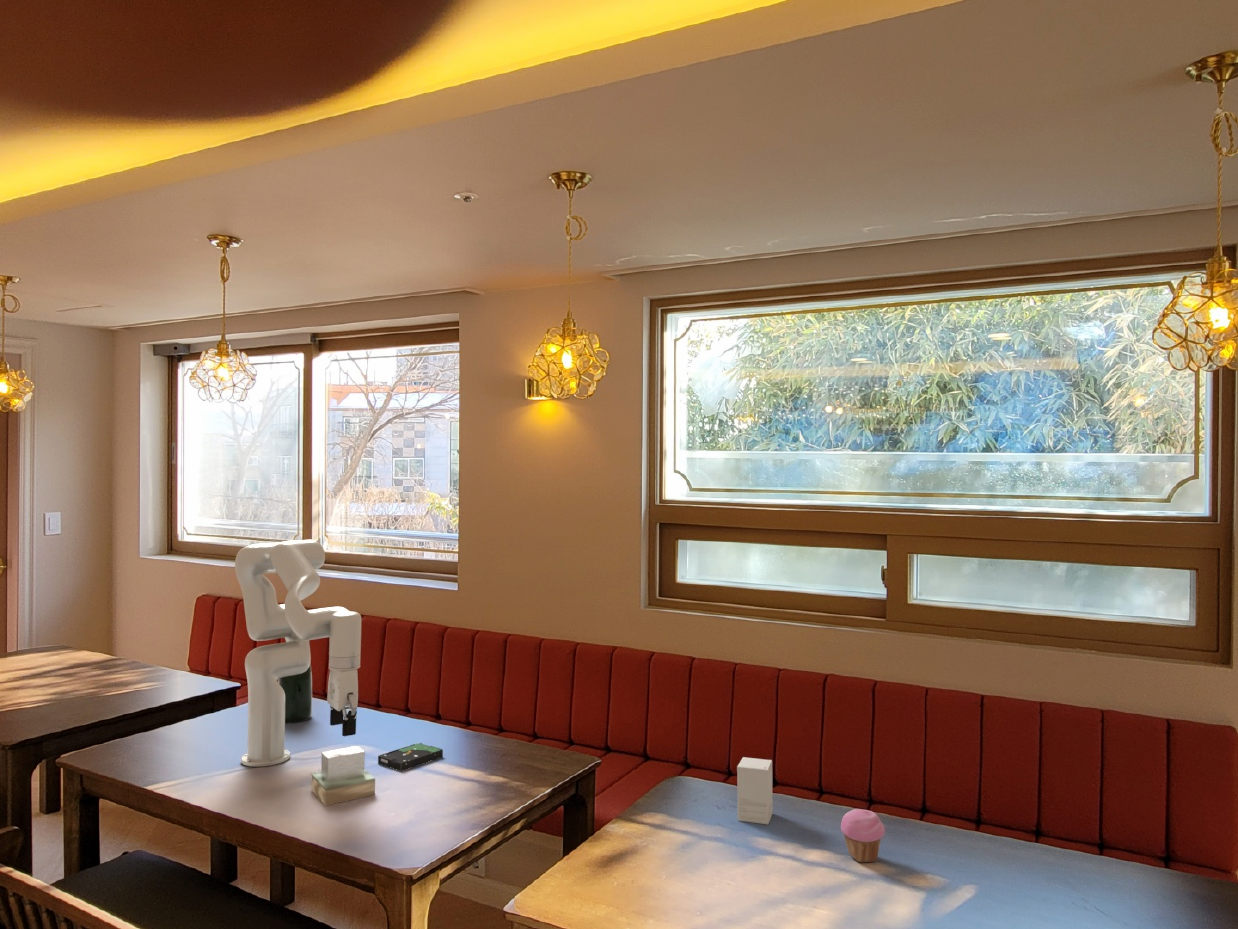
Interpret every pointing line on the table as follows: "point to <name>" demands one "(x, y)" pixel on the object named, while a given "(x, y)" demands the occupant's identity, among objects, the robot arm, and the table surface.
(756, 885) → the table surface
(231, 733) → the table surface
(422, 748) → the disk drive
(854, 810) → the cupcake
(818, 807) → the table surface
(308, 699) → the beer bottle
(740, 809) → the supplement box
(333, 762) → the block
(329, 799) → the stand
